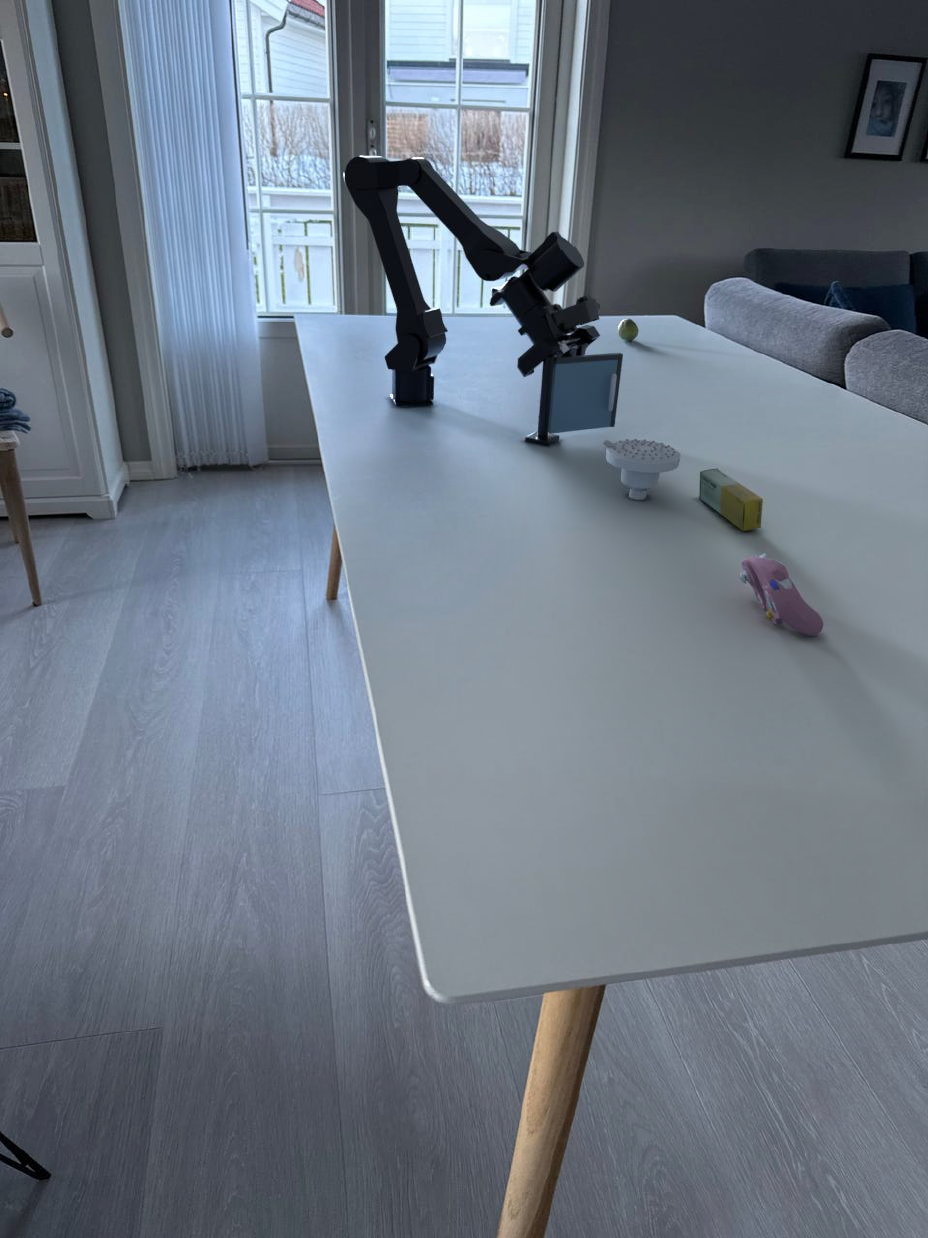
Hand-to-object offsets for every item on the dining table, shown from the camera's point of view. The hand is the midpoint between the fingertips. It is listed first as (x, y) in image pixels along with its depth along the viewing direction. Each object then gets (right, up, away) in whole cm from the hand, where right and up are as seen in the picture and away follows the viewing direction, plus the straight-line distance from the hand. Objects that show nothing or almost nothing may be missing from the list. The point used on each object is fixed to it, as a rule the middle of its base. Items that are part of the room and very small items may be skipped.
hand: (590, 394), depth 141 cm
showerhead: (+3, -19, -22) cm, 29 cm away
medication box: (+14, -22, -26) cm, 37 cm away
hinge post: (-8, -8, -1) cm, 11 cm away
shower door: (-1, -5, +1) cm, 6 cm away
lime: (+19, +31, +72) cm, 81 cm away
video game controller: (+11, -35, -50) cm, 62 cm away
